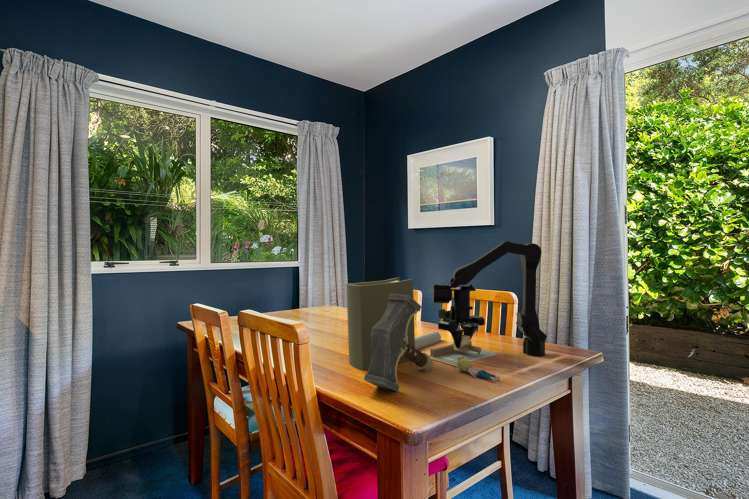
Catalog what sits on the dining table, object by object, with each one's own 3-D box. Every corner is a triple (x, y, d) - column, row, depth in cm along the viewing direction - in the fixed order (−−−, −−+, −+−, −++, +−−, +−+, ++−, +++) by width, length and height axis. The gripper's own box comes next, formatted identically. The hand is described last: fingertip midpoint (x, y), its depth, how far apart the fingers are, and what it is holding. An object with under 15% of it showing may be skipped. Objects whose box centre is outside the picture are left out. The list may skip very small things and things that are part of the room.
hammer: (428, 339, 140) (389, 285, 122) (451, 344, 134) (414, 289, 116) (394, 414, 127) (346, 366, 109) (419, 423, 122) (372, 374, 103)
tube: (430, 331, 172) (395, 342, 152) (441, 328, 169) (406, 339, 149) (434, 344, 171) (399, 356, 151) (445, 341, 168) (410, 354, 148)
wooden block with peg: (483, 353, 143) (483, 339, 143) (476, 355, 140) (476, 340, 140) (461, 347, 151) (461, 334, 151) (453, 349, 148) (453, 335, 148)
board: (499, 356, 147) (499, 346, 147) (457, 367, 134) (457, 357, 134) (468, 348, 158) (468, 339, 158) (426, 358, 145) (426, 349, 145)
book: (360, 372, 132) (357, 284, 131) (347, 365, 140) (344, 282, 139) (415, 360, 143) (412, 279, 142) (400, 354, 151) (397, 277, 150)
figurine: (503, 383, 121) (465, 368, 134) (504, 369, 121) (465, 355, 133) (490, 388, 118) (451, 371, 130) (490, 372, 118) (452, 358, 130)
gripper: (462, 298, 160) (462, 339, 160) (426, 303, 148) (427, 346, 149) (485, 302, 151) (485, 344, 151) (450, 307, 140) (450, 353, 140)
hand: (461, 347), depth 148 cm, fingers closed on wooden block with peg, 4 cm apart
